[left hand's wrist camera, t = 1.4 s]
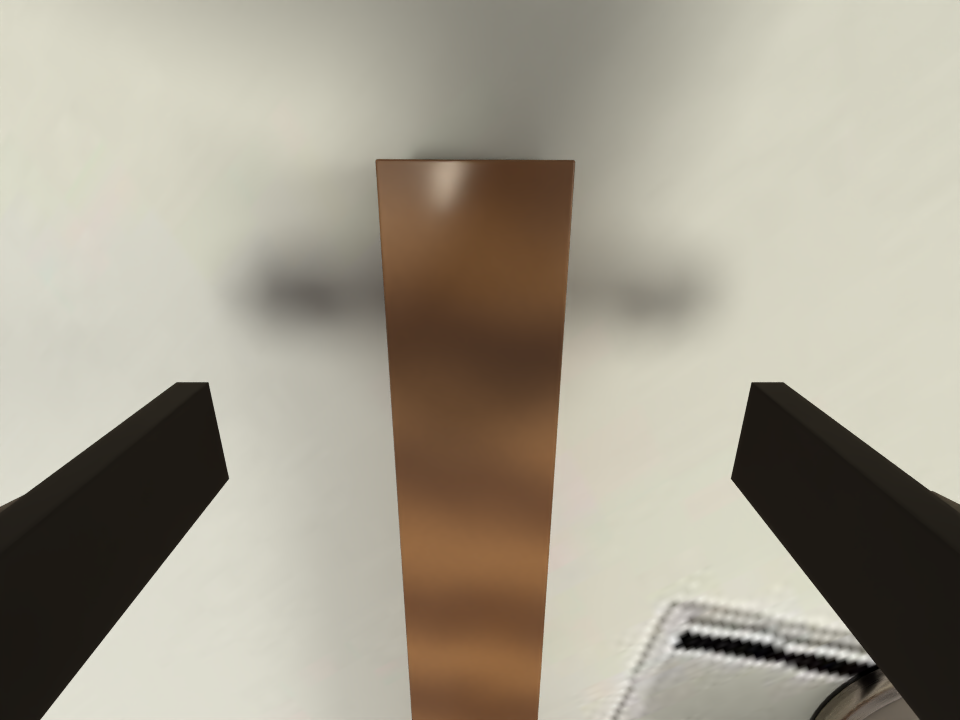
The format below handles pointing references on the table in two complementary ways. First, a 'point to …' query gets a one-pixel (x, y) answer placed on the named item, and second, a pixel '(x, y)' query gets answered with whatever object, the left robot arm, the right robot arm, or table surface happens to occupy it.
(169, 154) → the table surface
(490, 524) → the bar
